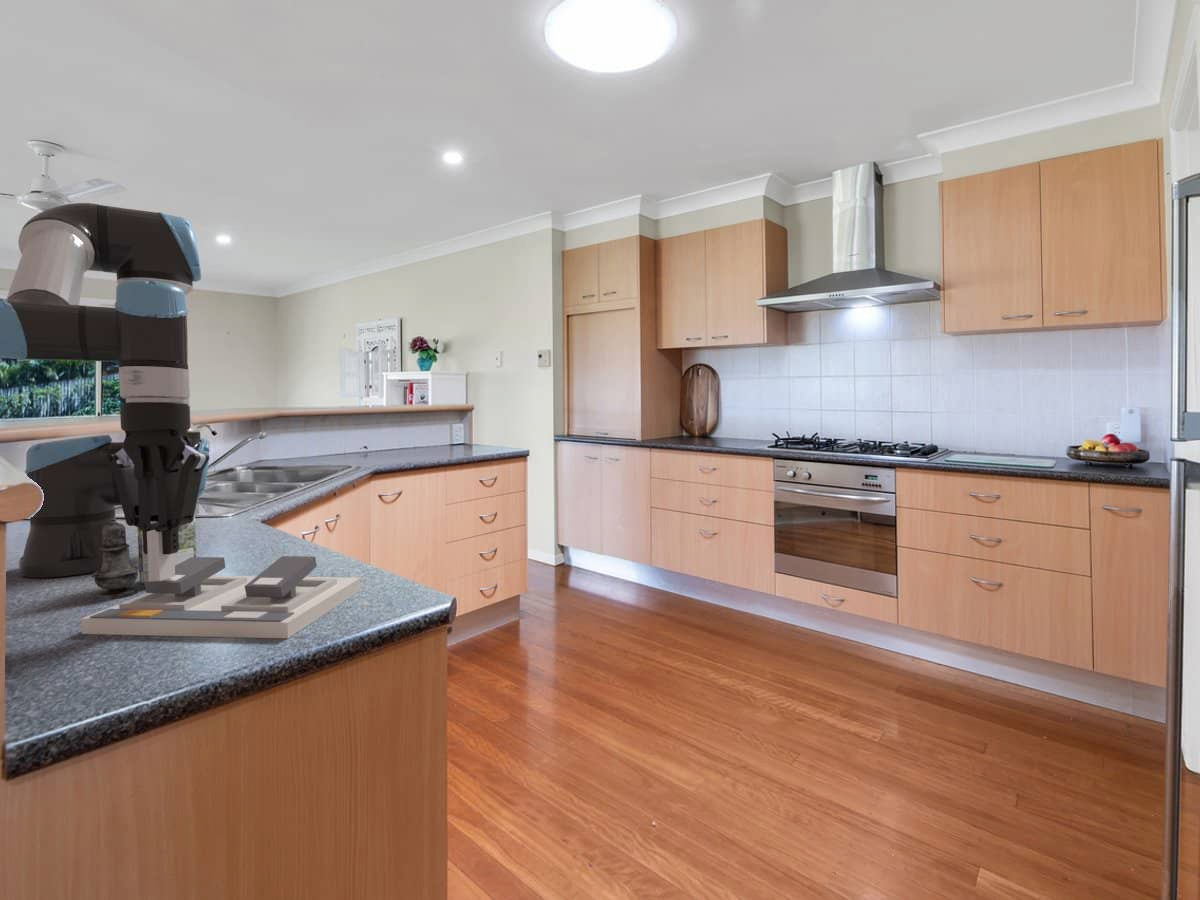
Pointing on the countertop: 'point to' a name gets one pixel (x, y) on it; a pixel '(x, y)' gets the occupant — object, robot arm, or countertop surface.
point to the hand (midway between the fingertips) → (162, 578)
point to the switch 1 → (187, 575)
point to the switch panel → (224, 610)
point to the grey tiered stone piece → (115, 564)
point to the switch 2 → (280, 576)
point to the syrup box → (185, 552)
